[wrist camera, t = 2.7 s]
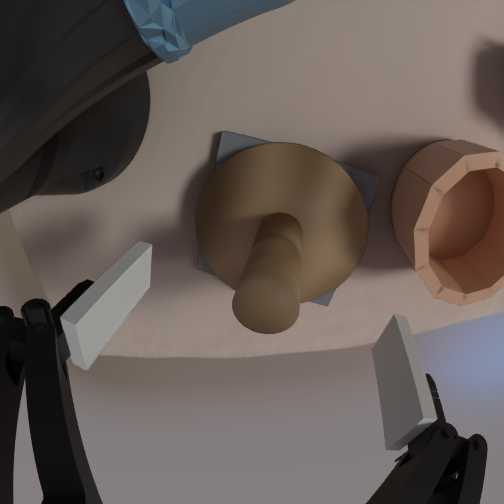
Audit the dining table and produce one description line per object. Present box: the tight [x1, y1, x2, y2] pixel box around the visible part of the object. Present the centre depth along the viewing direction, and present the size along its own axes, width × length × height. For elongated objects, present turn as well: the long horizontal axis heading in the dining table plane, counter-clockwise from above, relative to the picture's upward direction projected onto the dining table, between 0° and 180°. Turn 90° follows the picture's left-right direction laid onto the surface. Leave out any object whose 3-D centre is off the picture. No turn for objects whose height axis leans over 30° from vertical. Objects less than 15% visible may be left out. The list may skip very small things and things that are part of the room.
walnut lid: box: [196, 142, 368, 334], centre depth 18 cm, size 13×13×10 cm
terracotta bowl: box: [391, 140, 504, 306], centre depth 18 cm, size 11×11×6 cm
